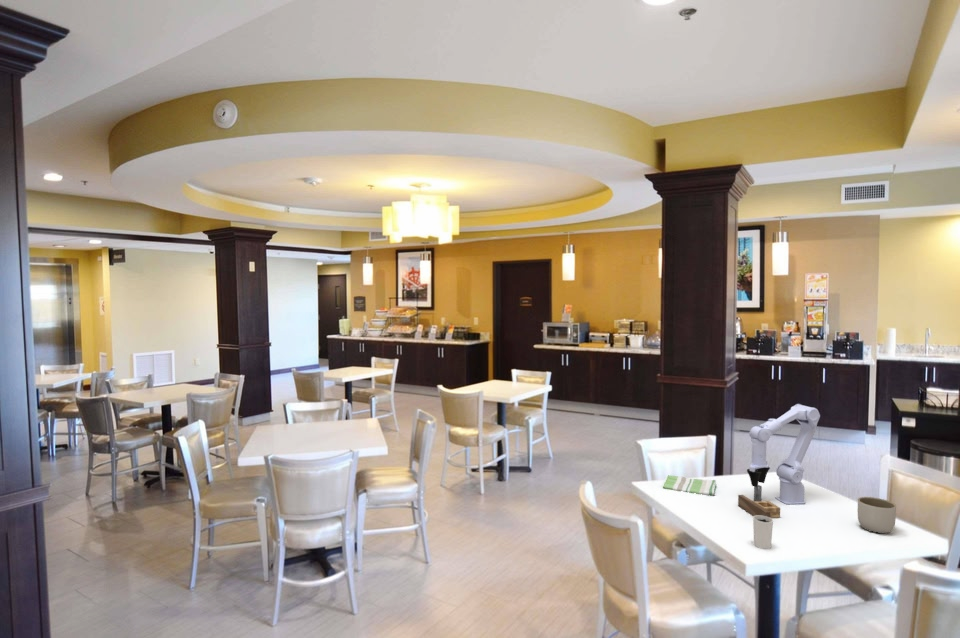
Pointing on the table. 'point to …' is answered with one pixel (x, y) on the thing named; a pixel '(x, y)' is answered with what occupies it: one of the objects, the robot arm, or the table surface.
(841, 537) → the table surface
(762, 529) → the white cup
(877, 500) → the planter
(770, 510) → the block
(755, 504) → the wooden plank
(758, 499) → the dowel
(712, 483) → the dish towel
